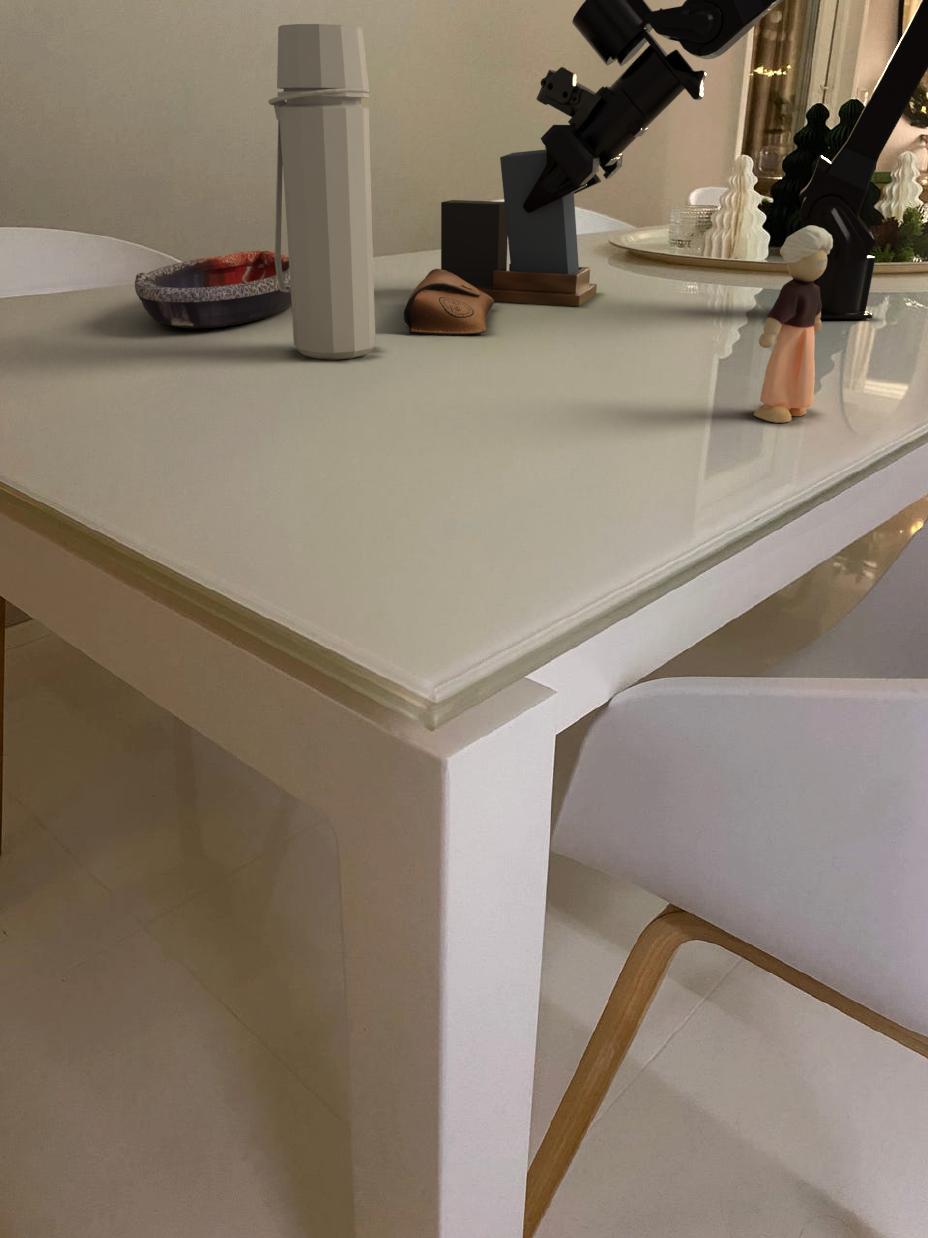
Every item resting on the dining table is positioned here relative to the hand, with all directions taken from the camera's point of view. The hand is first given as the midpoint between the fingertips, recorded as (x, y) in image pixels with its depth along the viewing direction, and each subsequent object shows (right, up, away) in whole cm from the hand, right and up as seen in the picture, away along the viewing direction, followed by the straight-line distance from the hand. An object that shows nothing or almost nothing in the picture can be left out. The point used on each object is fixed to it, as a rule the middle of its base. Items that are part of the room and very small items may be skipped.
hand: (530, 208), depth 115 cm
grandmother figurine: (+15, -32, -43) cm, 56 cm away
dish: (-33, -14, -7) cm, 36 cm away
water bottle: (-20, -23, -26) cm, 40 cm away
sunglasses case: (-9, -16, -10) cm, 21 cm away
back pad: (+2, -7, +3) cm, 8 cm away
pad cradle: (-2, -8, +5) cm, 10 cm away
